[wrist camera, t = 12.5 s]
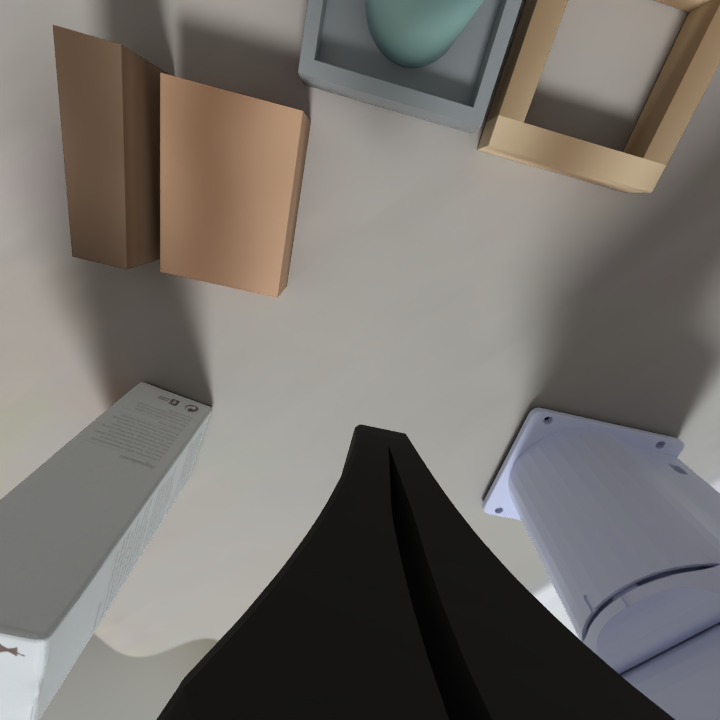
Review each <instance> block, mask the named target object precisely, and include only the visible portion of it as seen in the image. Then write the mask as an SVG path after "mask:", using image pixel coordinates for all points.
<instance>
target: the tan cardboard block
mask: <svg viewBox="0 0 720 720" xmlns="http://www.w3.org/2000/svg"><path fill="white" fill-rule="evenodd" d="M310 124H311V122H310V120H309V119H308V117H307V116H306V114H305V113H304V112H303V111H302V110H298V109H294V108H290V107H287V106H283V105H279V104H276V103H272V102H268V101H264V100H261V99H257V98H253V97H250V96H246V95H242V94H238V93H235V92H231V91H227V90H223V89H220V88H216V87H212V86H209V85H205V84H201V83H197V82H194V81H190V80H186V79H183V78H179V77H175V76H171V75H168V74H164V73H160V272H164V273H168V274H173V275H177V276H182V277H186V278H191V279H195V280H200V281H204V282H209V283H213V284H218V285H222V286H227V287H231V288H236V289H240V290H245V291H249V292H254V293H258V294H263V295H267V296H272V297H276V298H278V296H279V295H280V294H281V293H282V292H283V290H284V289H285V288H286V287H287V282H288V275H289V268H290V261H291V254H292V248H293V241H294V234H295V227H296V220H297V213H298V206H299V200H300V193H301V186H302V179H303V172H304V165H305V158H306V152H307V145H308V138H309V131H310Z"/></svg>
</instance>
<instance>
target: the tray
mask: <svg viewBox="0 0 720 720" xmlns="http://www.w3.org/2000/svg"><path fill="white" fill-rule="evenodd" d="M521 3H522V0H484V1H483V3H482V4H481V6H480V7H479V8H478V10H477V11H476V13H475V14H474V15H473V17H472V18H471V20H470V21H469V22H468V24H467V25H466V27H465V28H464V29H463V31H462V32H461V34H460V35H459V36H458V38H457V39H456V41H455V42H454V43H453V45H452V46H451V47H450V49H449V50H448V51H447V52H446V53H445V54H444V55H443V56H442V57H441V58H440V59H438V60H437V61H435V62H434V63H432V64H429V65H427V66H424V67H419V68H407V67H402V66H400V65H397V64H395V63H394V62H392V61H390V60H389V59H388V58H387V57H385V56H384V54H383V53H382V52H381V51H380V50H379V48H378V47H377V46H376V44H375V42H374V40H373V38H372V36H371V33H370V30H369V27H368V23H367V17H366V0H308V4H307V11H306V18H305V25H304V33H303V40H302V47H301V54H300V61H299V69H298V74H299V76H300V78H301V80H302V81H303V83H304V85H308V86H311V87H315V88H318V89H322V90H325V91H328V92H332V93H335V94H339V95H342V96H346V97H349V98H352V99H356V100H359V101H363V102H366V103H370V104H373V105H376V106H380V107H383V108H387V109H390V110H393V111H397V112H400V113H404V114H407V115H411V116H414V117H417V118H421V119H424V120H428V121H431V122H435V123H438V124H441V125H445V126H448V127H452V128H455V129H459V130H462V131H465V132H469V133H471V132H473V131H475V130H476V129H478V128H480V127H481V126H482V123H483V120H484V117H485V113H486V110H487V107H488V104H489V101H490V98H491V95H492V92H493V89H494V86H495V83H496V80H497V76H498V73H499V70H500V67H501V64H502V61H503V58H504V55H505V52H506V49H507V46H508V43H509V39H510V36H511V33H512V30H513V27H514V24H515V21H516V18H517V15H518V12H519V9H520V6H521Z"/></svg>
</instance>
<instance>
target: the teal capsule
mask: <svg viewBox="0 0 720 720" xmlns="http://www.w3.org/2000/svg"><path fill="white" fill-rule="evenodd" d="M483 1H484V0H366V17H367V23H368V27H369V30H370V33H371V36H372V38H373V40H374V42H375V44H376V46H377V47H378V48H379V50H380V51H381V52H382V53H383V54H384V56H385V57H387V58H388V59H389V60H390V61H392V62H394V63H395V64H397V65H400V66H402V67H407V68H419V67H424V66H427V65H429V64H432V63H434V62H435V61H437V60H438V59H440V58H441V57H442V56H443V55H444V54H445V53H446V52H447V51H448V50H449V49H450V47H451V46H452V45H453V43H454V42H455V41H456V39H457V38H458V36H459V35H460V34H461V32H462V31H463V29H464V28H465V27H466V25H467V24H468V22H469V21H470V20H471V18H472V17H473V15H474V14H475V13H476V11H477V10H478V8H479V7H480V6H481V4H482V3H483Z"/></svg>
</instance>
